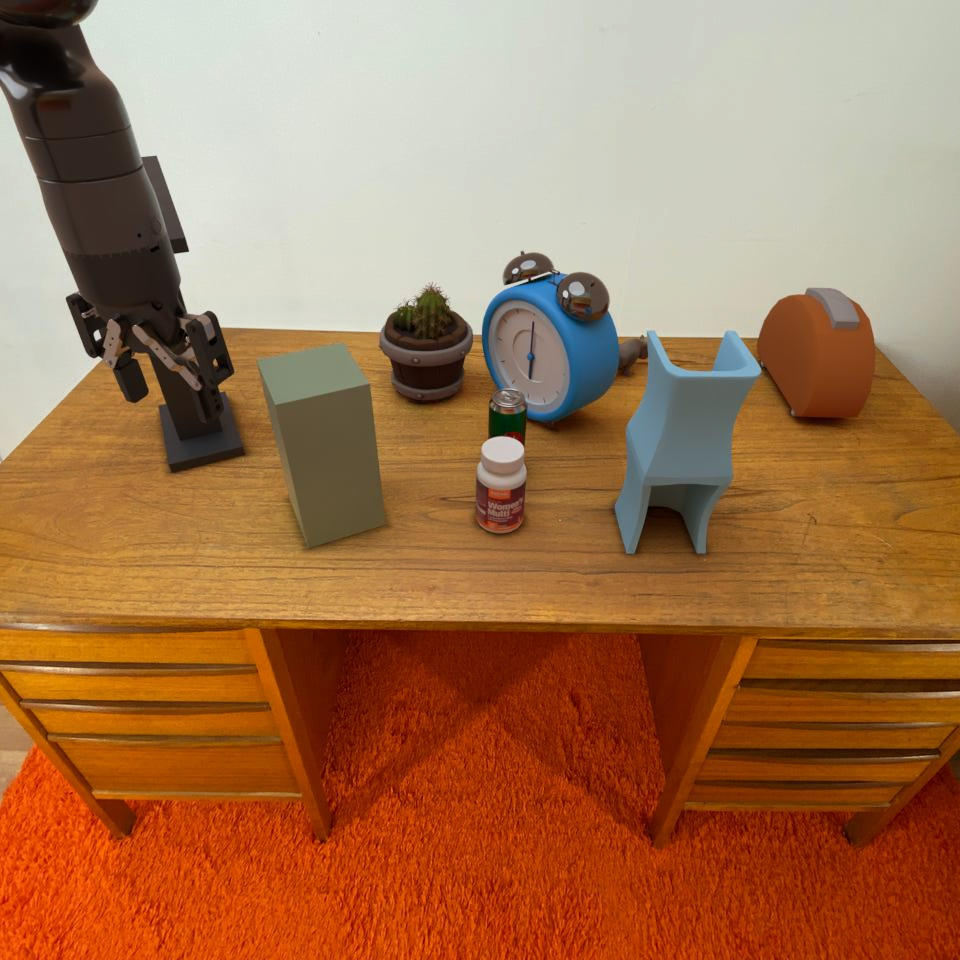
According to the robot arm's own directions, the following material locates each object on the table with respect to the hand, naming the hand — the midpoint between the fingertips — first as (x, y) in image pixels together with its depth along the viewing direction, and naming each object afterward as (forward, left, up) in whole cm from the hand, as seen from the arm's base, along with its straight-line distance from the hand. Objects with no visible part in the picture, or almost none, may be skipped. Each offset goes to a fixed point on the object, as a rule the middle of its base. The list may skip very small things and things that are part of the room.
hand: (175, 408), depth 59 cm
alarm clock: (+42, +32, -24) cm, 58 cm away
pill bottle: (+32, +7, -24) cm, 41 cm away
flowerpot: (+24, +39, -24) cm, 52 cm away
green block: (+11, +10, -23) cm, 28 cm away
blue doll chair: (+52, +4, -24) cm, 57 cm away
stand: (-10, +29, -23) cm, 39 cm away
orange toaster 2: (+86, +34, -24) cm, 96 cm away
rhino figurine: (+58, +42, -24) cm, 75 cm away
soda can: (+34, +17, -24) cm, 45 cm away
